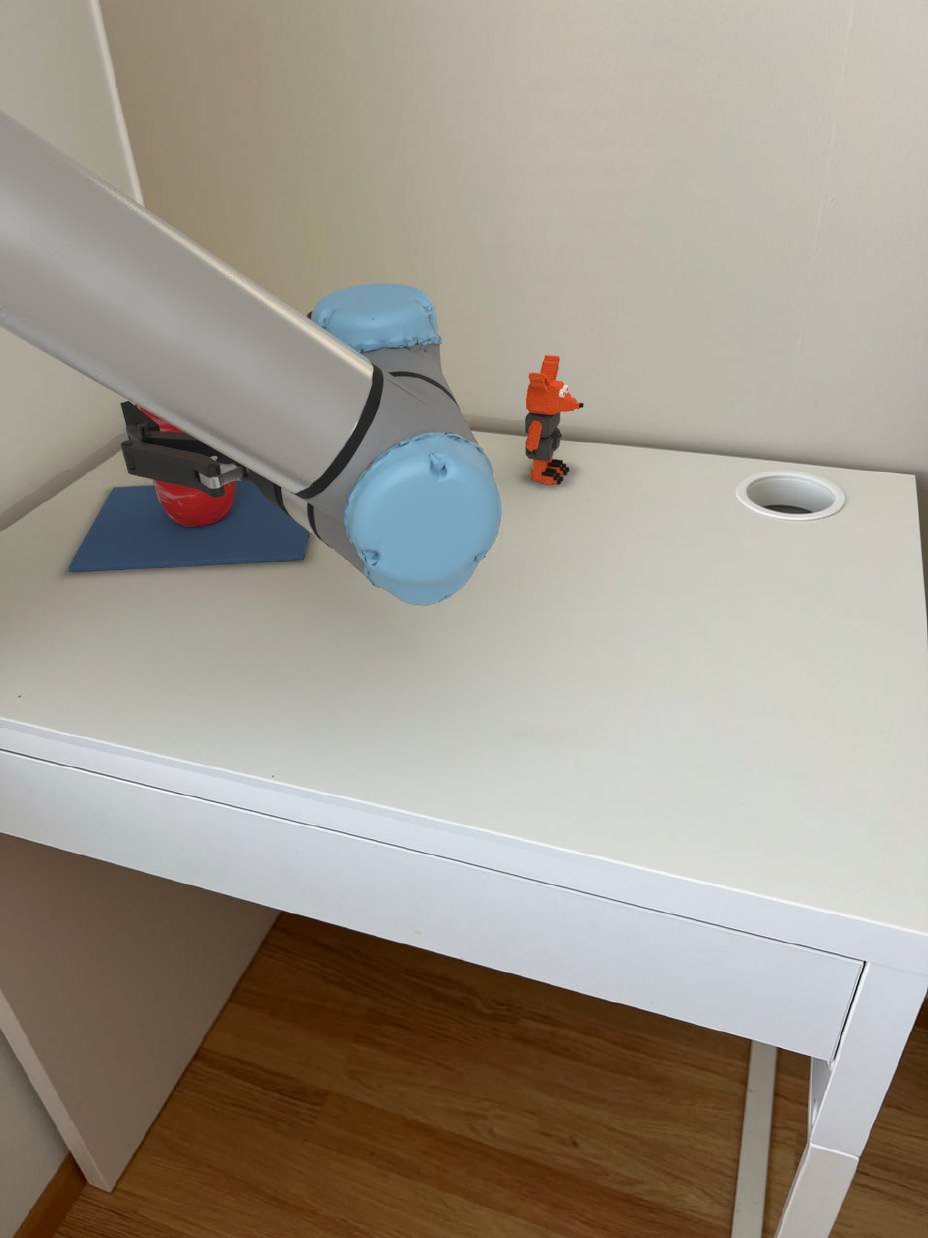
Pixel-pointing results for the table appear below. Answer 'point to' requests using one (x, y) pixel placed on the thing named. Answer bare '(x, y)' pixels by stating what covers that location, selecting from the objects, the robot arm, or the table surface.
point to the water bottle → (190, 495)
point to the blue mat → (187, 533)
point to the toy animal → (546, 421)
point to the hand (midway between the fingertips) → (202, 394)
